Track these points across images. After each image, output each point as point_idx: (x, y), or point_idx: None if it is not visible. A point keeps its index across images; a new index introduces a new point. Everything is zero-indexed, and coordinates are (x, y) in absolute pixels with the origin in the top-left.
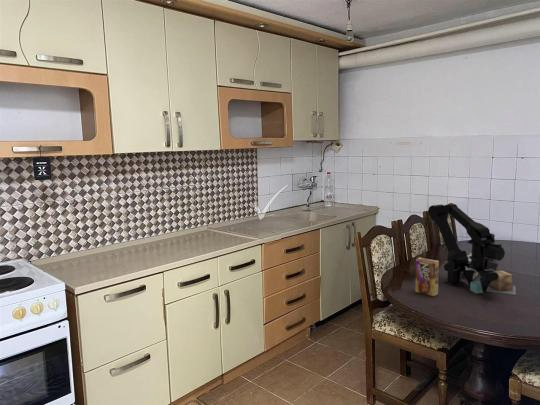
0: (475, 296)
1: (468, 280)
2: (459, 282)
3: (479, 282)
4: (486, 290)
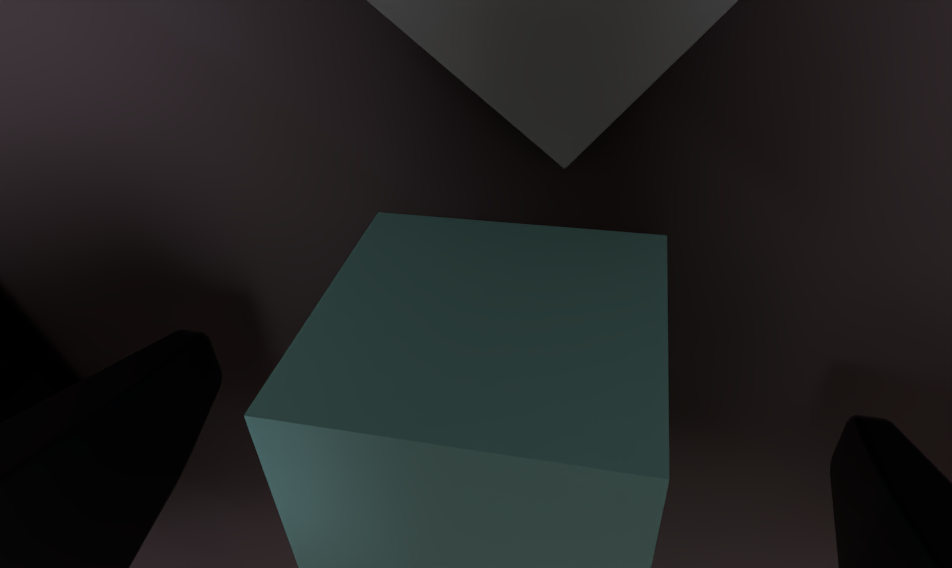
0: (794, 557)
1: (140, 534)
2: (14, 403)
3: (409, 487)
4: (594, 106)
